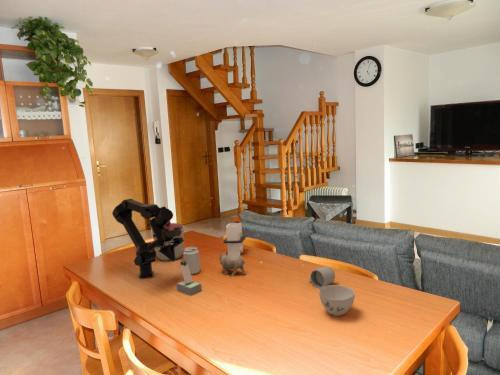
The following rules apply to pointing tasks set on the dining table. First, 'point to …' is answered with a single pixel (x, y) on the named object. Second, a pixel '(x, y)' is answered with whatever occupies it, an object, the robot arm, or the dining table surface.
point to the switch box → (189, 287)
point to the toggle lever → (186, 272)
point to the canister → (178, 248)
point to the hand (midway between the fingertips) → (174, 261)
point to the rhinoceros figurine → (232, 263)
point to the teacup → (336, 298)
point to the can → (192, 259)
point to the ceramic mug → (322, 277)
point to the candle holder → (234, 238)
